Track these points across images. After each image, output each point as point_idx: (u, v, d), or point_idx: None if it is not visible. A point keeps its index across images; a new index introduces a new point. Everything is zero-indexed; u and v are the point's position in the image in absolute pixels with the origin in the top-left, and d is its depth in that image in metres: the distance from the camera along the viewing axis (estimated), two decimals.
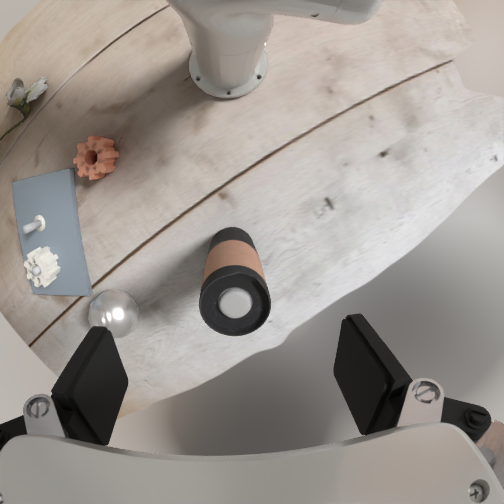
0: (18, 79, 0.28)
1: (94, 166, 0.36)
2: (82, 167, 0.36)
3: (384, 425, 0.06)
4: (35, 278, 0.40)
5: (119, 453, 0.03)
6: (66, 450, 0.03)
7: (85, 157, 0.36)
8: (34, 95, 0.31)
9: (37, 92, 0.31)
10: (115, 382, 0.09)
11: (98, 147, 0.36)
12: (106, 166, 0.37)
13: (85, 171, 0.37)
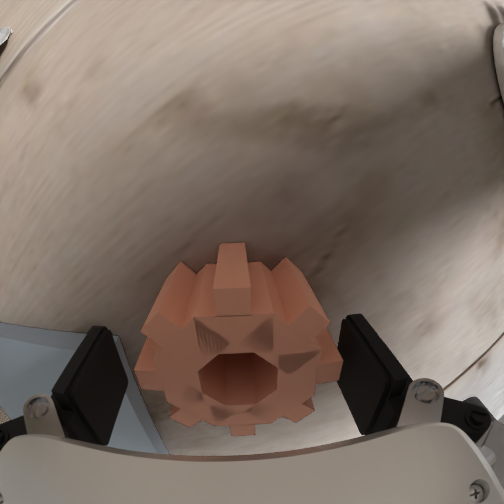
0: None
1: (258, 407, 0.09)
2: (194, 405, 0.09)
3: (384, 425, 0.06)
4: None
5: (119, 453, 0.03)
6: (66, 450, 0.03)
7: None
8: None
9: None
10: (115, 382, 0.09)
11: (288, 348, 0.08)
12: None
13: (211, 417, 0.09)
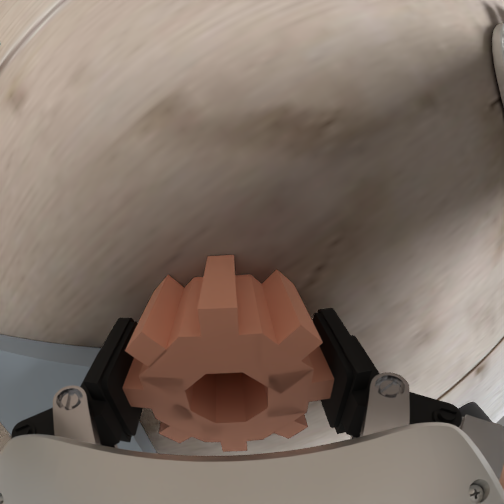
0: None
1: (249, 424, 0.08)
2: (183, 423, 0.08)
3: (349, 418, 0.07)
4: None
5: (119, 453, 0.03)
6: (66, 450, 0.03)
7: None
8: None
9: None
10: None
11: (278, 367, 0.08)
12: None
13: (201, 433, 0.09)
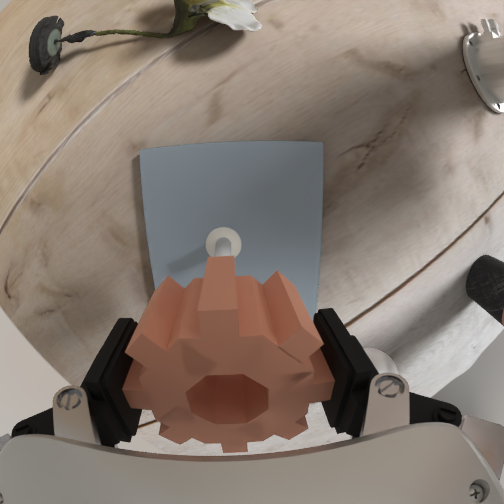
0: None
1: (249, 426, 0.08)
2: (183, 424, 0.08)
3: (349, 418, 0.07)
4: None
5: (119, 453, 0.03)
6: (66, 450, 0.03)
7: None
8: (228, 18, 0.17)
9: (236, 18, 0.17)
10: None
11: (279, 369, 0.08)
12: None
13: (202, 435, 0.08)
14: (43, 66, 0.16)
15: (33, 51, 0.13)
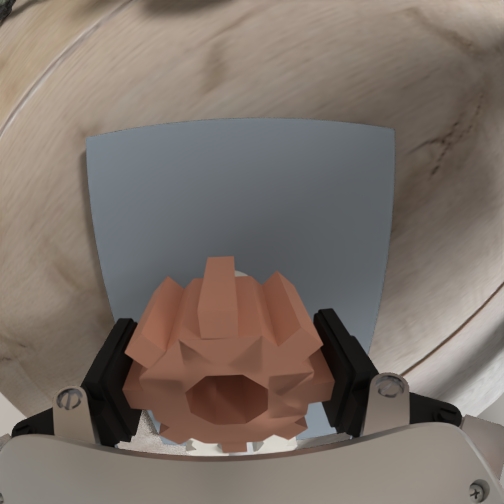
0: None
1: (249, 426, 0.08)
2: (183, 424, 0.08)
3: (349, 418, 0.07)
4: None
5: (119, 453, 0.03)
6: (66, 450, 0.03)
7: None
8: None
9: None
10: None
11: (278, 370, 0.08)
12: None
13: (201, 435, 0.09)
14: None
15: None
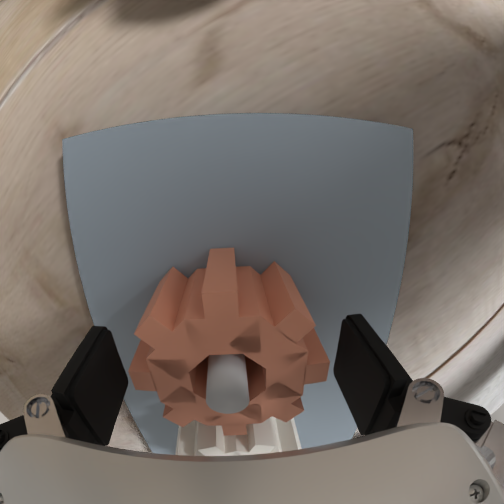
0: None
1: (248, 407, 0.09)
2: (186, 405, 0.09)
3: (384, 425, 0.06)
4: None
5: (119, 453, 0.03)
6: (66, 450, 0.03)
7: None
8: None
9: None
10: (115, 382, 0.09)
11: (275, 349, 0.08)
12: None
13: (203, 416, 0.09)
14: None
15: None
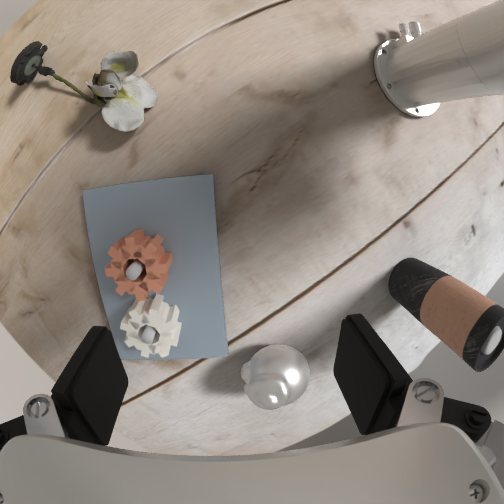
0: (136, 60, 0.22)
1: (142, 283, 0.28)
2: (122, 283, 0.27)
3: (384, 425, 0.06)
4: (144, 345, 0.30)
5: (119, 453, 0.03)
6: (66, 450, 0.03)
7: (124, 267, 0.28)
8: (118, 112, 0.25)
9: (124, 113, 0.25)
10: (115, 382, 0.09)
11: (146, 257, 0.27)
12: (160, 282, 0.29)
13: (128, 289, 0.28)
14: (18, 82, 0.20)
15: (13, 72, 0.18)
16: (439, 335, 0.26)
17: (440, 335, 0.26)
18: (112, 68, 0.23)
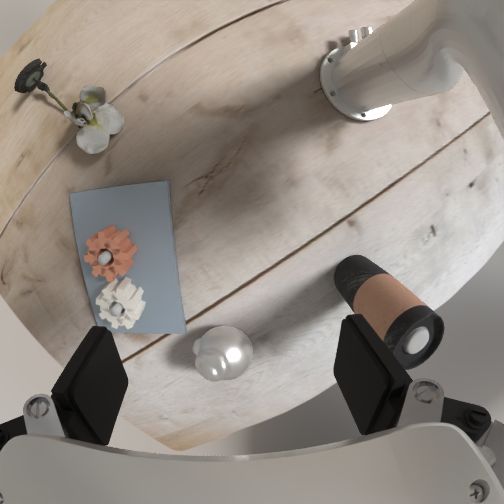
0: (104, 96, 0.28)
1: (111, 267, 0.34)
2: (96, 267, 0.34)
3: (384, 425, 0.06)
4: (114, 318, 0.37)
5: (119, 453, 0.03)
6: (66, 450, 0.03)
7: (98, 255, 0.34)
8: (89, 136, 0.31)
9: (94, 138, 0.31)
10: (115, 382, 0.09)
11: (113, 247, 0.33)
12: (125, 267, 0.35)
13: (101, 272, 0.34)
14: (21, 92, 0.26)
15: (17, 85, 0.23)
16: None
17: None
18: (89, 98, 0.29)
